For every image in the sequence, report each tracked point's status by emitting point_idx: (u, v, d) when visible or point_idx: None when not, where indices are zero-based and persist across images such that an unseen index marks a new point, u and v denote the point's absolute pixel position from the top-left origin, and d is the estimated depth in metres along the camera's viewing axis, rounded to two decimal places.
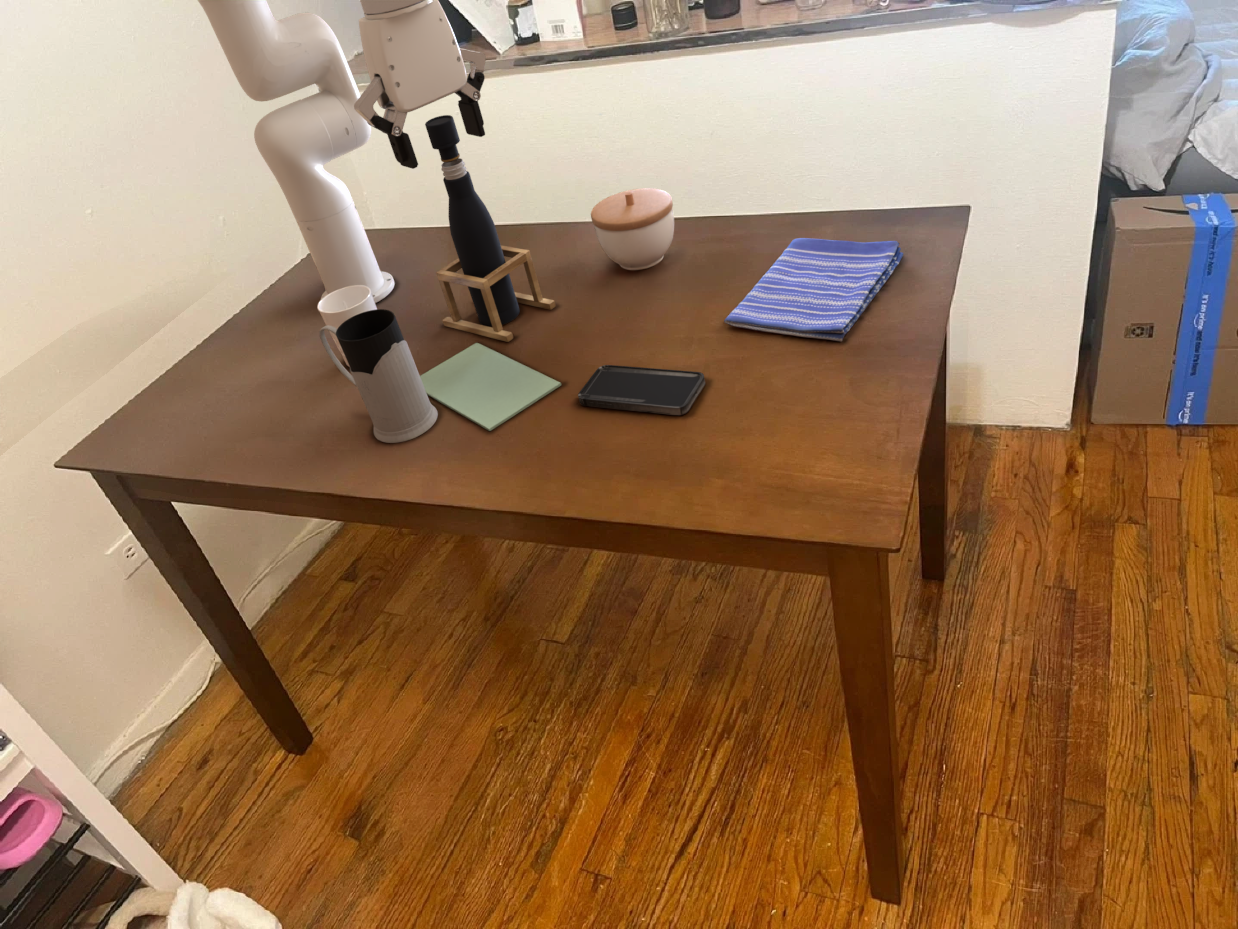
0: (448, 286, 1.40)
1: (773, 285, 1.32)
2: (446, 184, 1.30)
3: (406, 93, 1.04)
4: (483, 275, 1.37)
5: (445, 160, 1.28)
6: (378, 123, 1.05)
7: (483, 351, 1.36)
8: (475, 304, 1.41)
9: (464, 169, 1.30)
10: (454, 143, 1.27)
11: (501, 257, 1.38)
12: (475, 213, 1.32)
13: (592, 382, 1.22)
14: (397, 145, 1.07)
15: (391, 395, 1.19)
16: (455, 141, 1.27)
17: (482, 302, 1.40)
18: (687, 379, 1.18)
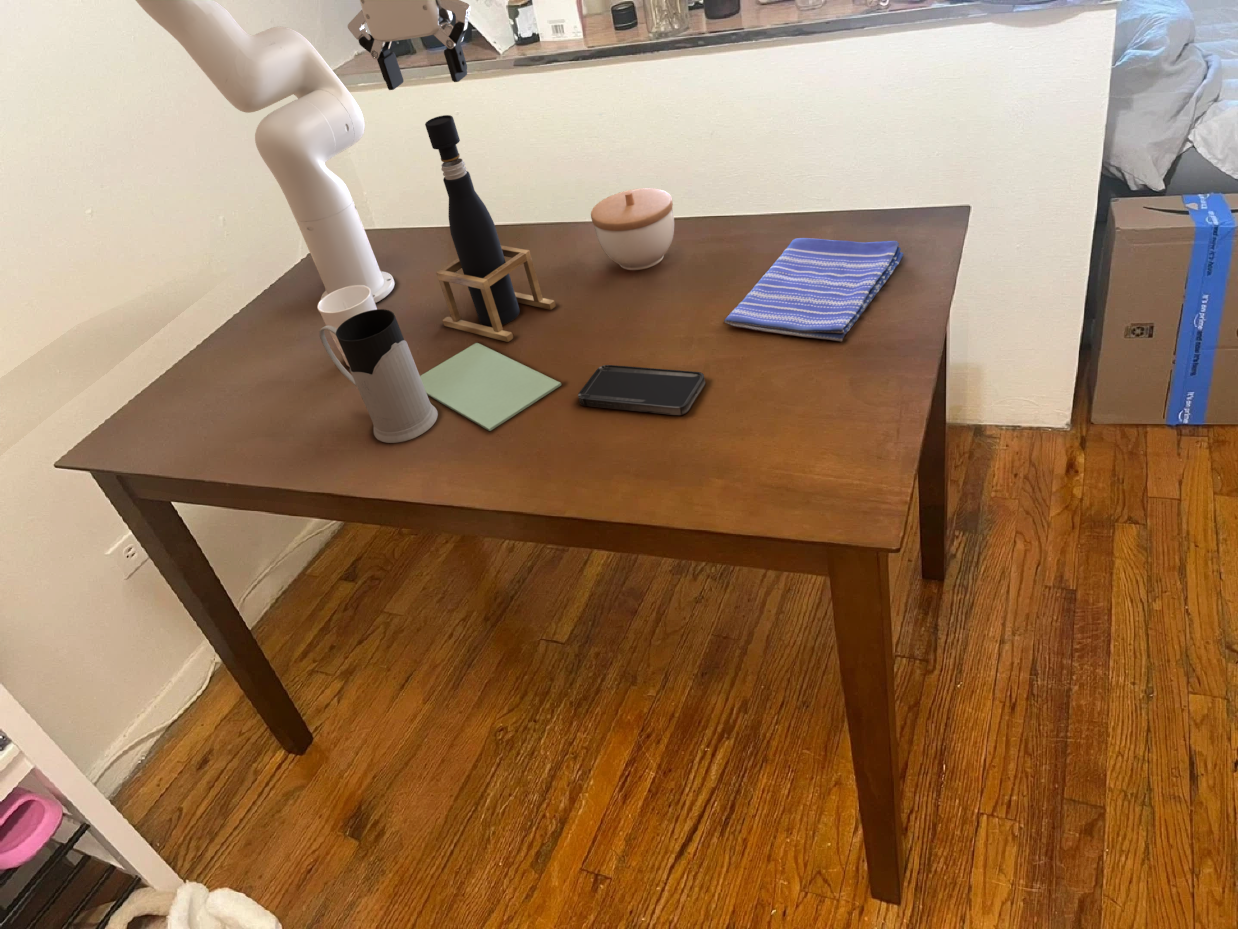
0: (448, 286, 1.40)
1: (773, 285, 1.32)
2: (446, 184, 1.30)
3: (376, 25, 1.18)
4: (483, 275, 1.37)
5: (445, 160, 1.28)
6: (361, 43, 1.22)
7: (483, 351, 1.36)
8: (475, 304, 1.41)
9: (464, 169, 1.30)
10: (454, 143, 1.27)
11: (501, 257, 1.38)
12: (475, 213, 1.32)
13: (592, 382, 1.22)
14: (380, 66, 1.23)
15: (391, 395, 1.19)
16: (455, 141, 1.27)
17: (482, 302, 1.40)
18: (687, 379, 1.18)
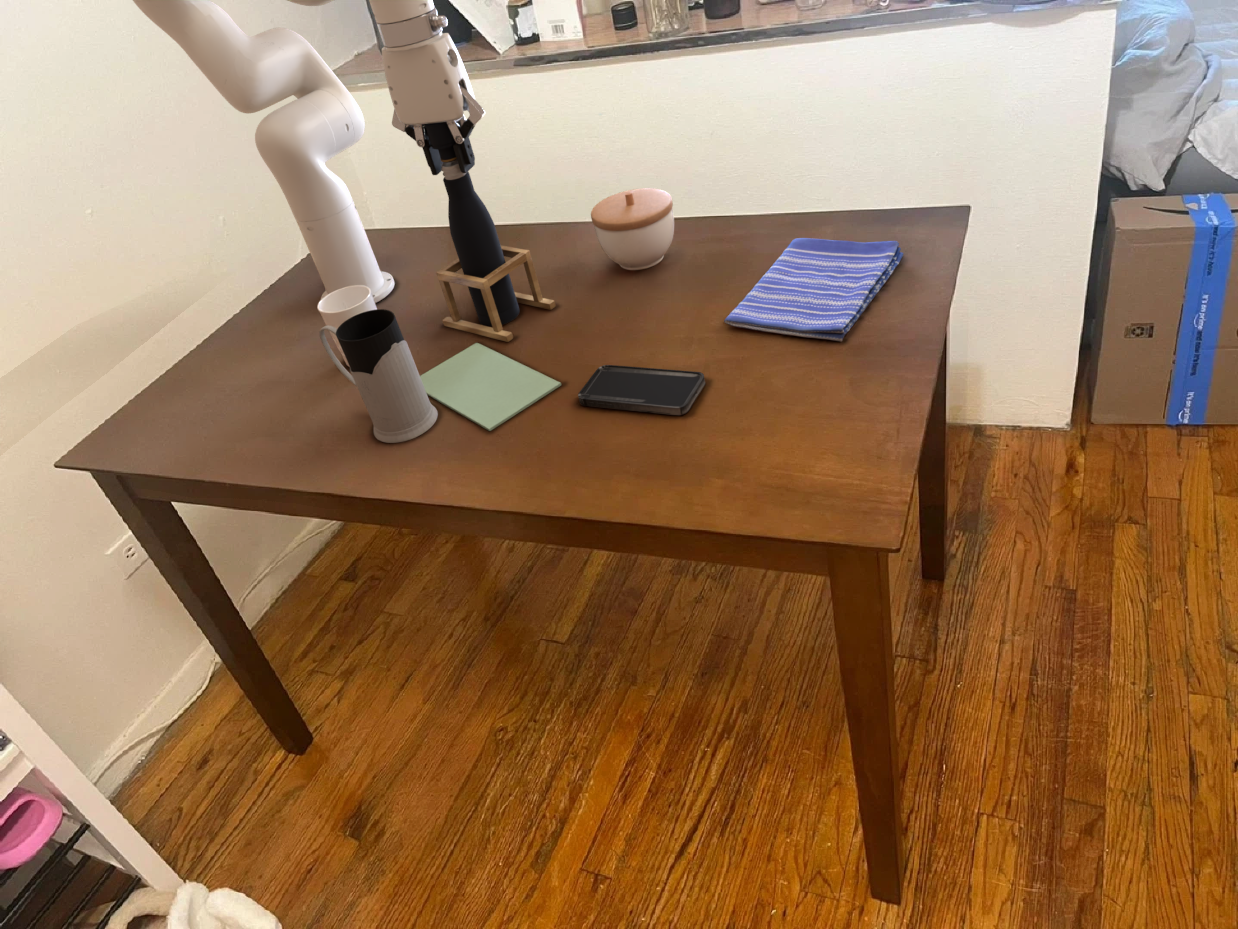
0: (448, 286, 1.40)
1: (773, 285, 1.32)
2: (446, 184, 1.30)
3: (403, 111, 1.25)
4: (483, 275, 1.37)
5: (445, 160, 1.28)
6: (407, 132, 1.28)
7: (483, 351, 1.36)
8: (475, 304, 1.41)
9: None
10: (454, 143, 1.27)
11: (501, 257, 1.38)
12: (475, 213, 1.32)
13: (592, 382, 1.22)
14: (424, 153, 1.29)
15: (391, 395, 1.19)
16: (455, 141, 1.27)
17: (482, 302, 1.40)
18: (687, 379, 1.18)
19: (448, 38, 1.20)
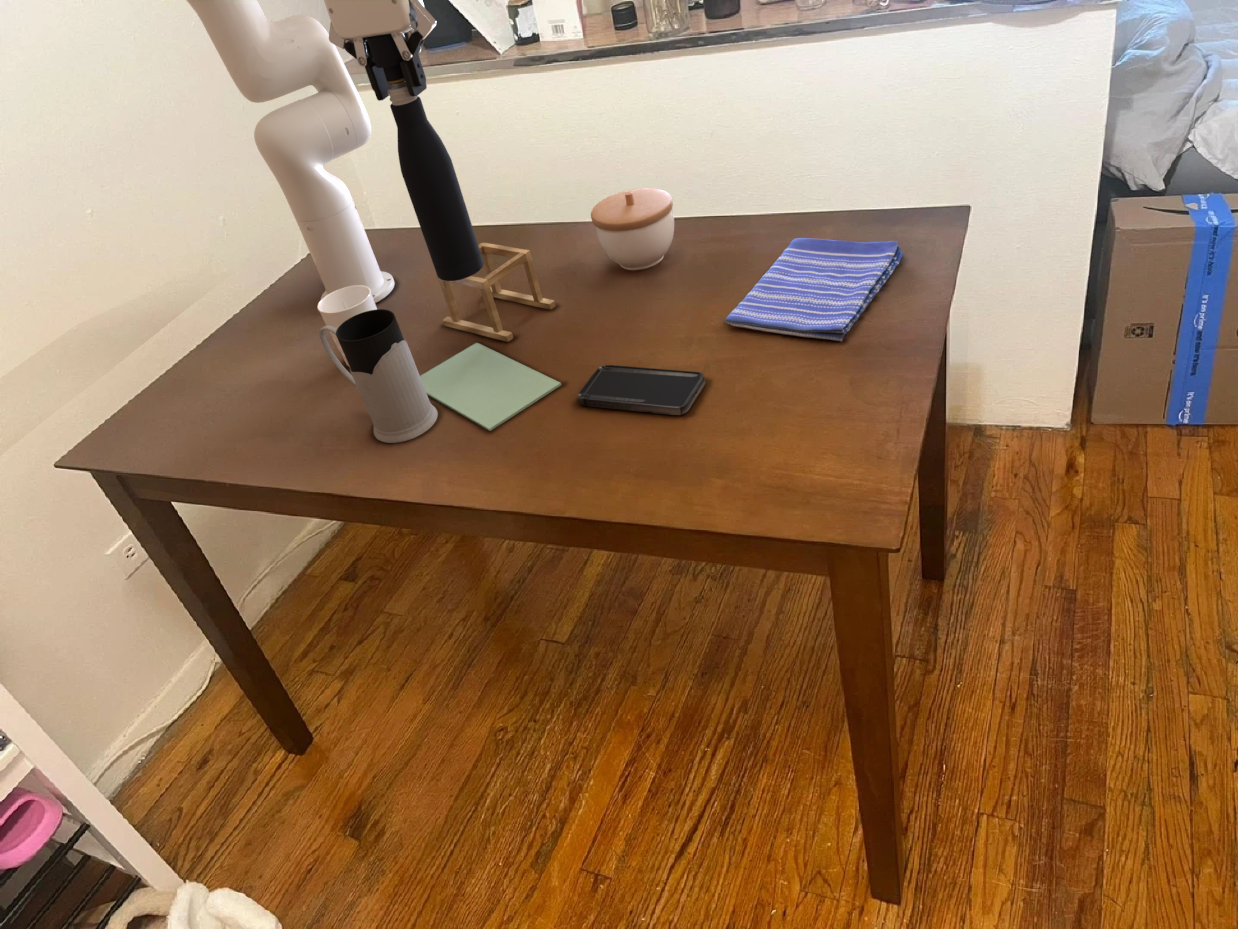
0: (448, 286, 1.40)
1: (773, 285, 1.32)
2: (393, 111, 1.12)
3: (340, 21, 1.07)
4: (439, 219, 1.19)
5: (391, 81, 1.10)
6: (347, 49, 1.10)
7: (483, 351, 1.36)
8: (431, 255, 1.23)
9: None
10: (401, 60, 1.09)
11: (460, 199, 1.20)
12: (428, 145, 1.14)
13: (592, 382, 1.22)
14: (368, 74, 1.11)
15: (391, 395, 1.19)
16: (402, 58, 1.09)
17: (439, 252, 1.22)
18: (687, 379, 1.18)
19: None
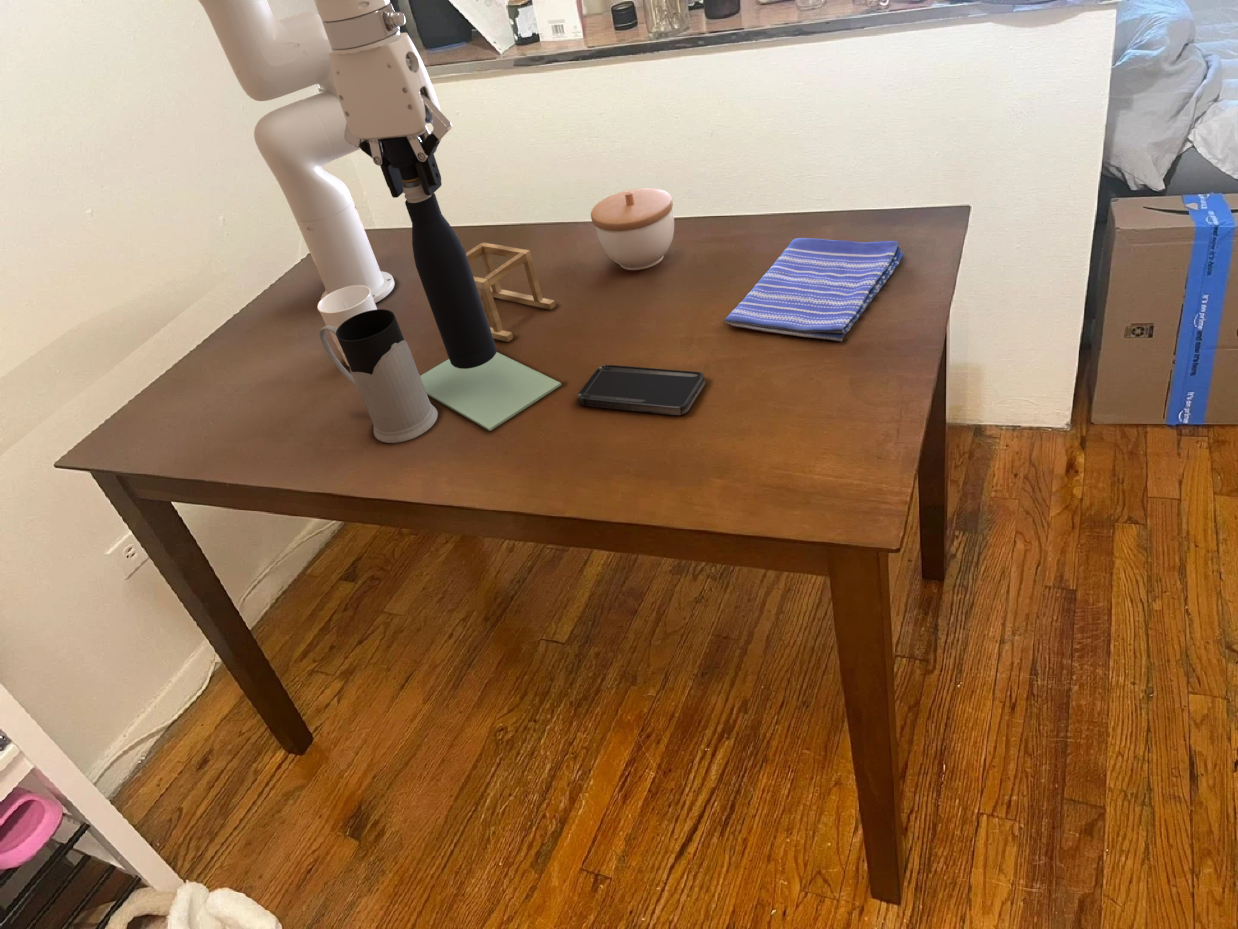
0: None
1: (773, 285, 1.32)
2: (408, 208, 1.13)
3: (356, 123, 1.07)
4: (453, 311, 1.19)
5: (406, 180, 1.11)
6: (363, 148, 1.10)
7: None
8: (445, 343, 1.23)
9: None
10: (416, 161, 1.09)
11: (474, 290, 1.20)
12: (442, 241, 1.14)
13: (592, 382, 1.22)
14: (383, 172, 1.11)
15: (391, 395, 1.19)
16: None
17: (452, 342, 1.22)
18: (687, 379, 1.18)
19: (407, 39, 1.02)
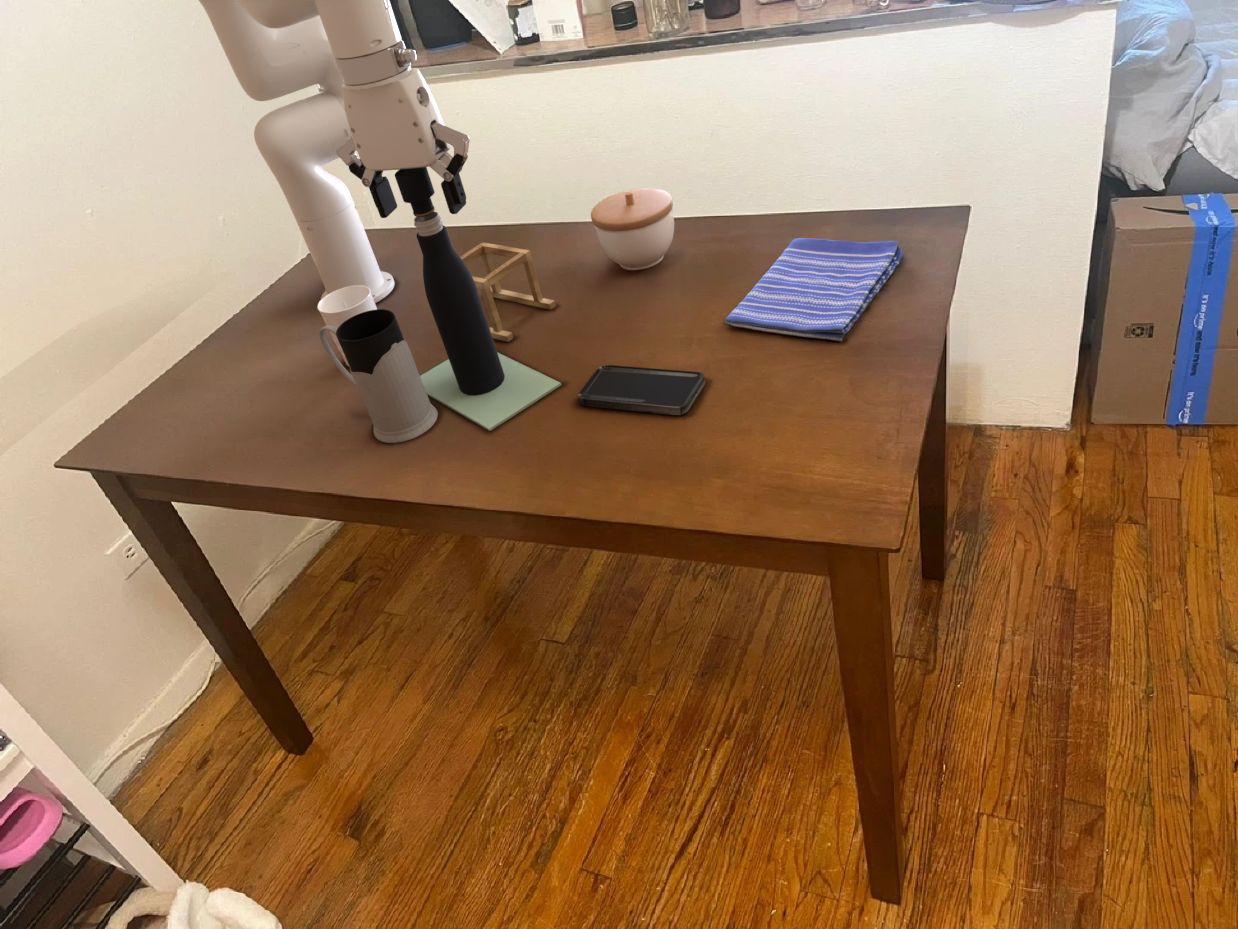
0: None
1: (773, 285, 1.32)
2: (419, 241, 1.15)
3: (367, 155, 1.09)
4: (462, 340, 1.22)
5: (418, 215, 1.13)
6: (351, 170, 1.13)
7: None
8: (454, 371, 1.26)
9: (440, 224, 1.15)
10: (428, 196, 1.12)
11: (483, 320, 1.22)
12: (453, 273, 1.17)
13: (592, 382, 1.22)
14: (371, 193, 1.14)
15: (391, 395, 1.19)
16: (429, 194, 1.12)
17: (462, 369, 1.25)
18: (687, 379, 1.18)
19: (417, 74, 1.04)
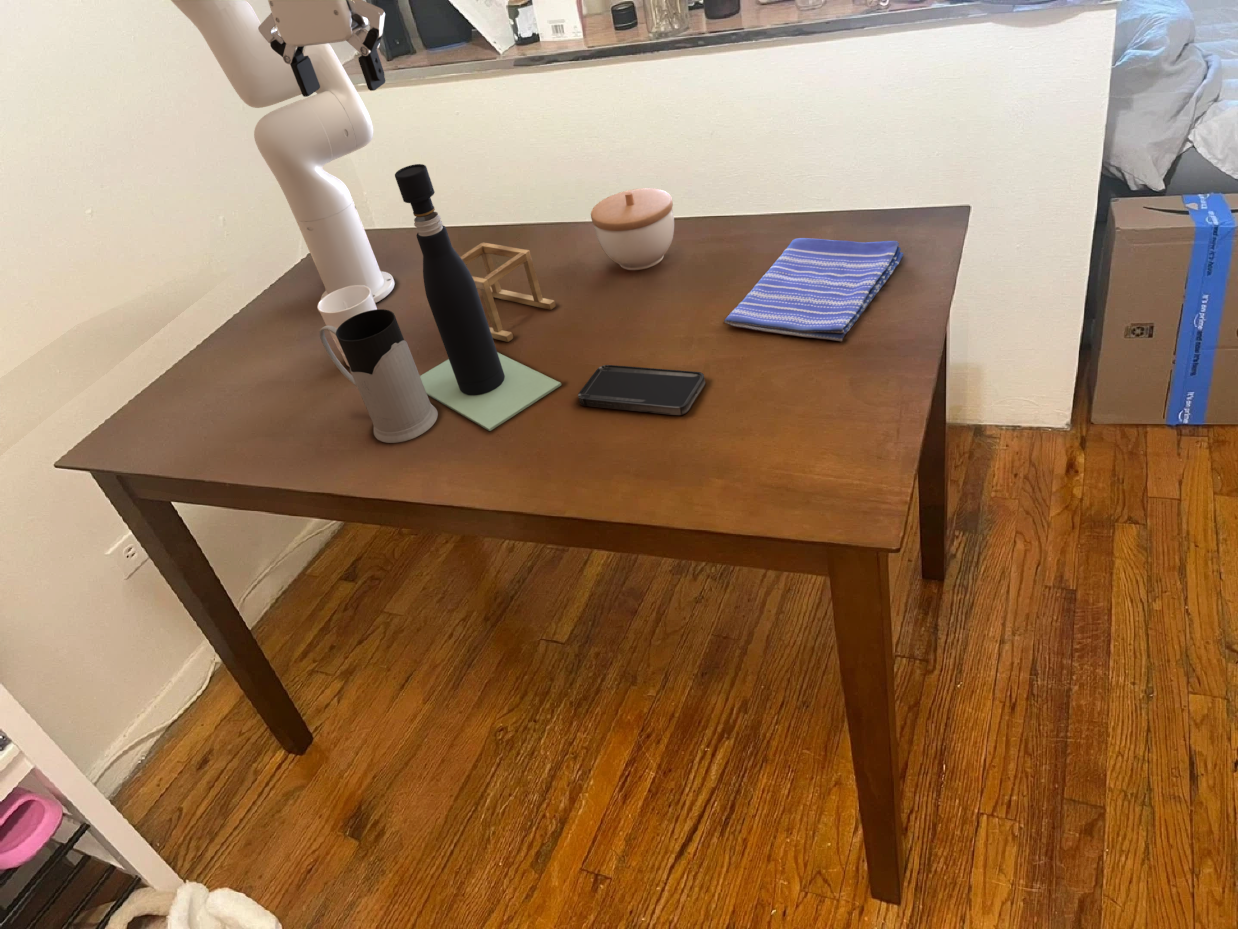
0: None
1: (773, 285, 1.32)
2: (419, 241, 1.15)
3: (286, 29, 1.12)
4: (462, 340, 1.22)
5: (418, 215, 1.13)
6: (273, 47, 1.15)
7: None
8: (454, 371, 1.26)
9: (440, 224, 1.15)
10: (428, 196, 1.12)
11: (483, 320, 1.22)
12: (453, 273, 1.17)
13: (592, 382, 1.22)
14: (293, 71, 1.17)
15: (391, 395, 1.19)
16: (429, 194, 1.12)
17: (462, 369, 1.25)
18: (687, 379, 1.18)
19: None
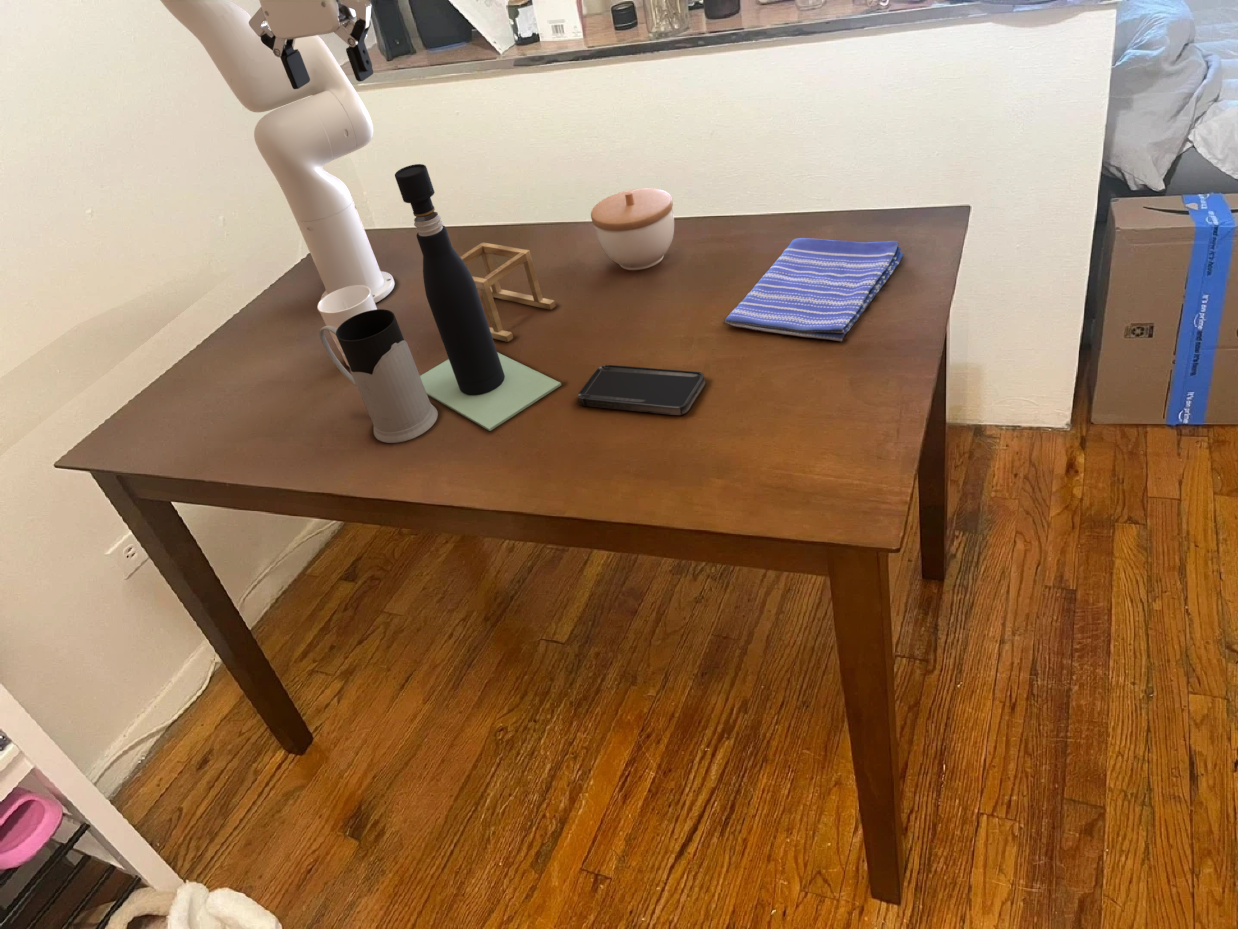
0: None
1: (773, 285, 1.32)
2: (419, 241, 1.15)
3: (275, 23, 1.14)
4: (462, 340, 1.22)
5: (418, 215, 1.13)
6: (263, 41, 1.18)
7: None
8: (454, 371, 1.26)
9: (440, 224, 1.15)
10: (428, 196, 1.12)
11: (483, 320, 1.22)
12: (453, 273, 1.17)
13: (592, 382, 1.22)
14: (283, 64, 1.19)
15: (391, 395, 1.19)
16: (429, 194, 1.12)
17: (462, 369, 1.25)
18: (687, 379, 1.18)
19: None
